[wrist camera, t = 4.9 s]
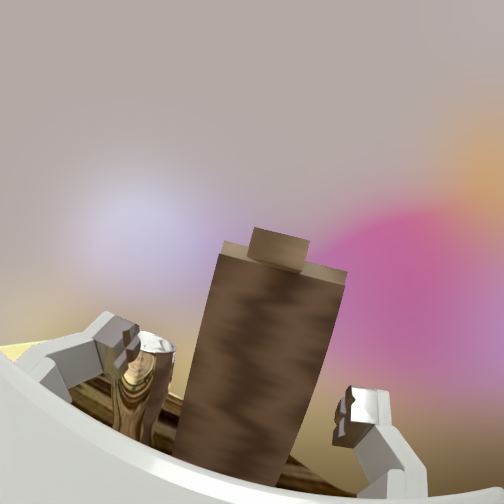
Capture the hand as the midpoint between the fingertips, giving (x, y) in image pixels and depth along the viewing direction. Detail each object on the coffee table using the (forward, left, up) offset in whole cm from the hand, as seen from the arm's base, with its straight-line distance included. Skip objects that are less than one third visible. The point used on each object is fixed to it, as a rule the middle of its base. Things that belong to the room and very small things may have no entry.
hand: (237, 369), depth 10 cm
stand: (0, -21, -22) cm, 30 cm away
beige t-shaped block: (0, -16, +4) cm, 16 cm away
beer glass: (+12, -19, -22) cm, 31 cm away
